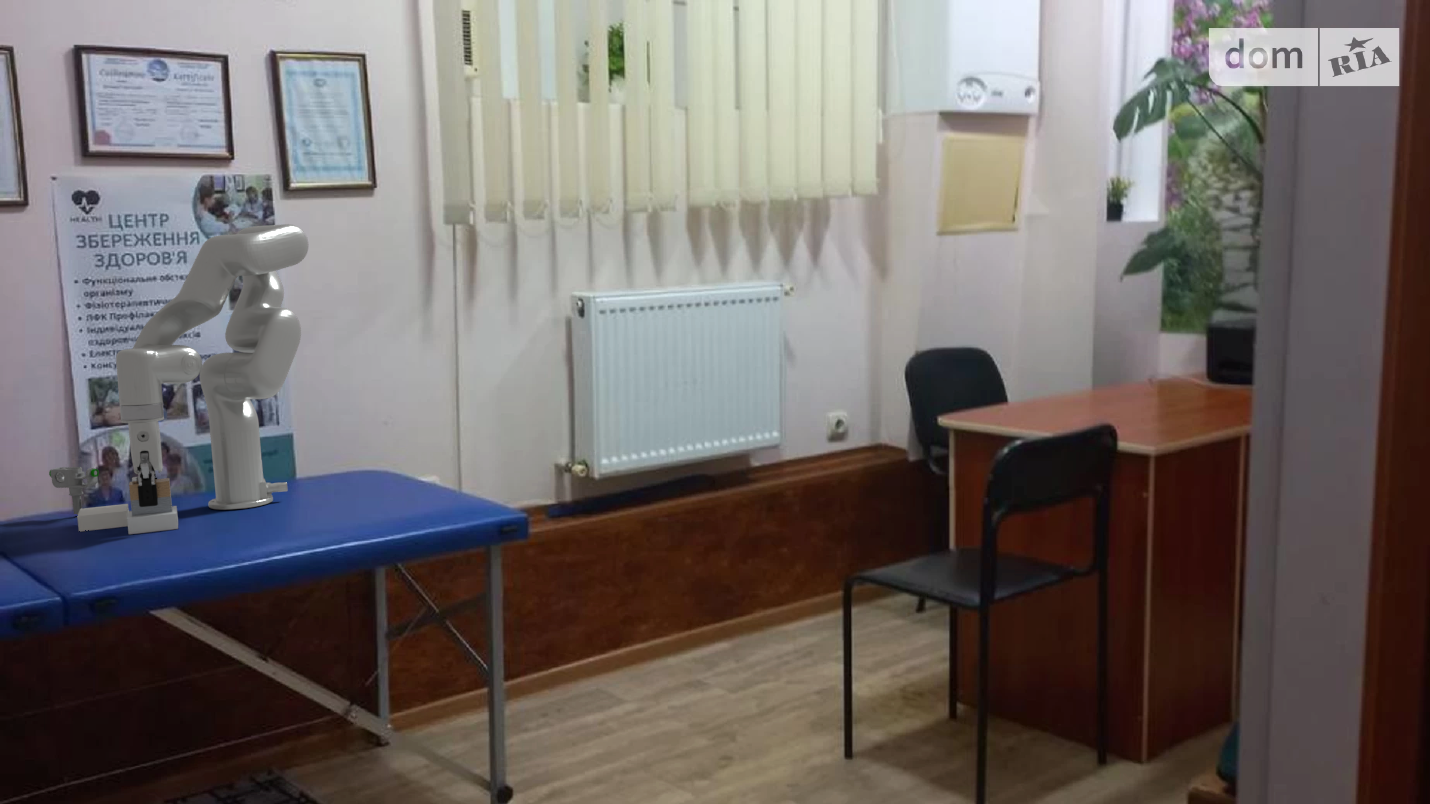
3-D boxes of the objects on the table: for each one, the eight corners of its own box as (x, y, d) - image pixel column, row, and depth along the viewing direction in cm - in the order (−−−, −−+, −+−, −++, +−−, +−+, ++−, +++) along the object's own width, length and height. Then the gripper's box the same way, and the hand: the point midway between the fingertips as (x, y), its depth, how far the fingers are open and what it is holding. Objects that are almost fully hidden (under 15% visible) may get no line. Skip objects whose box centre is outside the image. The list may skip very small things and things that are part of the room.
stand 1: (129, 518, 257) (128, 503, 257) (128, 526, 249) (126, 511, 249) (81, 523, 254) (80, 508, 254) (78, 531, 246) (77, 516, 246)
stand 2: (178, 520, 252) (176, 505, 252) (178, 528, 244) (176, 513, 244) (130, 526, 249) (128, 511, 249) (128, 534, 241) (127, 518, 241)
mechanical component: (95, 518, 259) (90, 469, 258) (51, 518, 261) (46, 469, 260) (105, 514, 262) (100, 466, 261) (61, 515, 264) (56, 467, 263)
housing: (172, 508, 250) (168, 472, 249) (172, 511, 246) (168, 475, 245) (132, 512, 247) (129, 476, 246) (132, 516, 243) (128, 479, 242)
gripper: (163, 415, 237) (170, 507, 239) (164, 408, 253) (170, 494, 255) (118, 418, 235) (126, 511, 236) (122, 411, 251) (129, 497, 252)
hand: (149, 502), depth 246 cm, fingers open, 9 cm apart
